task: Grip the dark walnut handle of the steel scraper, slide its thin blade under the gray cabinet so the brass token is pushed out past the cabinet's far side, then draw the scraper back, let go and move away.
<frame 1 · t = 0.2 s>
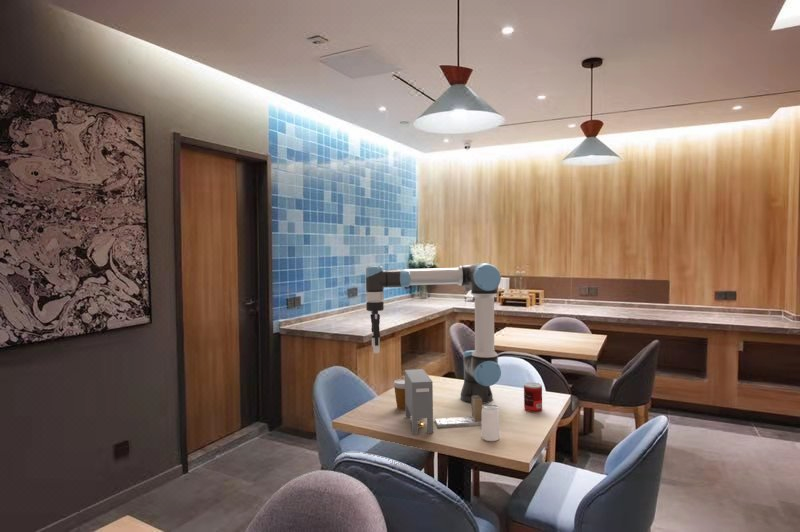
hand: (375, 350, 211), 28 cm above the table, tool pointing down, fingers open, 13 cm apart
can: (490, 439, 180), on the table
gray cabinet: (418, 424, 196), on the table
brass token: (419, 426, 195), on the table
canned food: (533, 409, 213), on the table
disposable coffee cup: (404, 408, 218), on the table
steel scraper: (477, 422, 198), on the table
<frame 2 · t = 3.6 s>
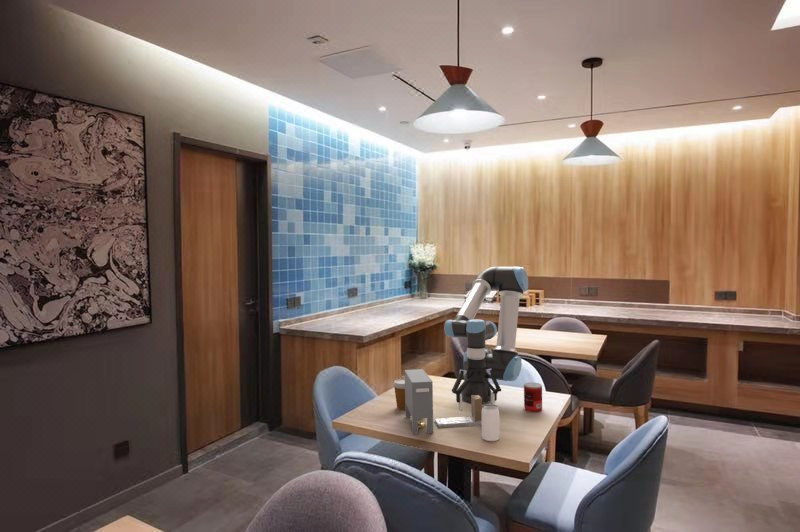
hand: (476, 409, 197), 5 cm above the table, tool pointing down, fingers open, 13 cm apart
nothing on the table moved.
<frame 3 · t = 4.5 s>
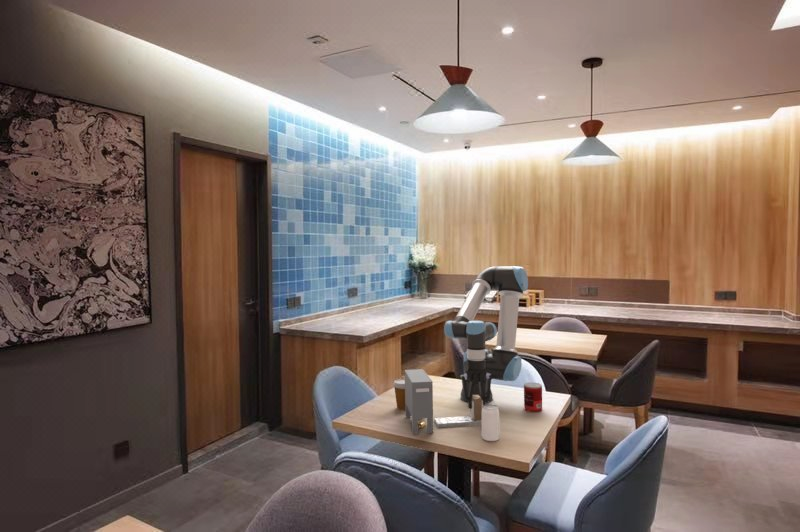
hand: (476, 415, 197), 3 cm above the table, tool pointing down, fingers closed on steel scraper, 3 cm apart
steel scraper: (476, 422, 198), on the table, touching gripper
everything else where it was.
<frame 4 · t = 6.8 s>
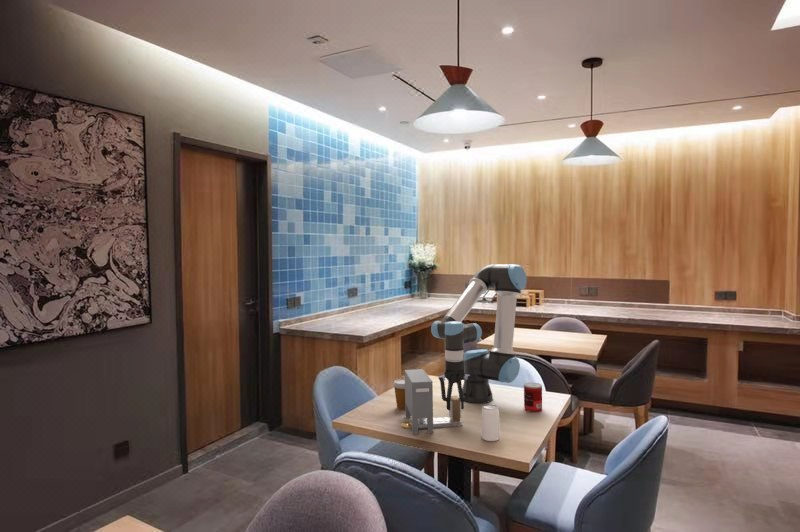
hand: (455, 417, 196), 3 cm above the table, tool pointing down, fingers closed on steel scraper, 3 cm apart
brass token: (407, 426, 194), on the table
steel scraper: (455, 423, 197), on the table, touching gripper
everything else where it was.
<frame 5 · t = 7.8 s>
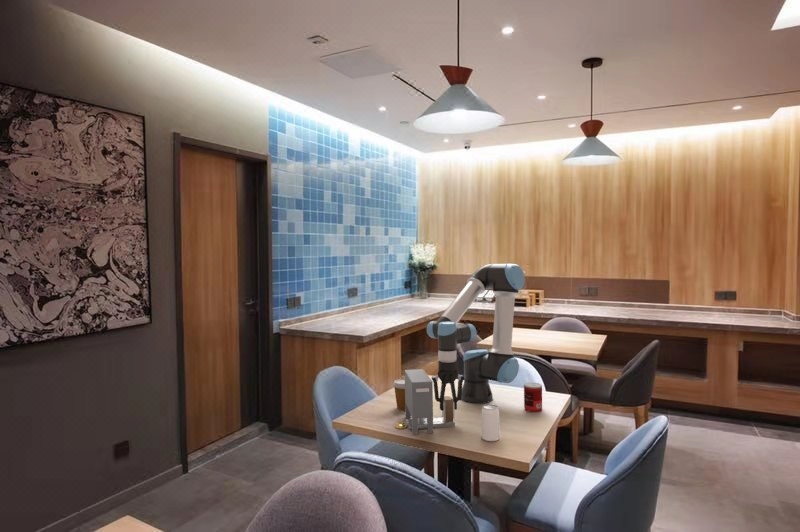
hand: (448, 417, 196), 3 cm above the table, tool pointing down, fingers closed on steel scraper, 3 cm apart
brass token: (401, 427, 194), on the table
steel scraper: (448, 423, 197), on the table, touching gripper
everything else where it was.
when the fingers open (2 cm above the table, at t = 9.0 s): steel scraper stays where it is, on the table.
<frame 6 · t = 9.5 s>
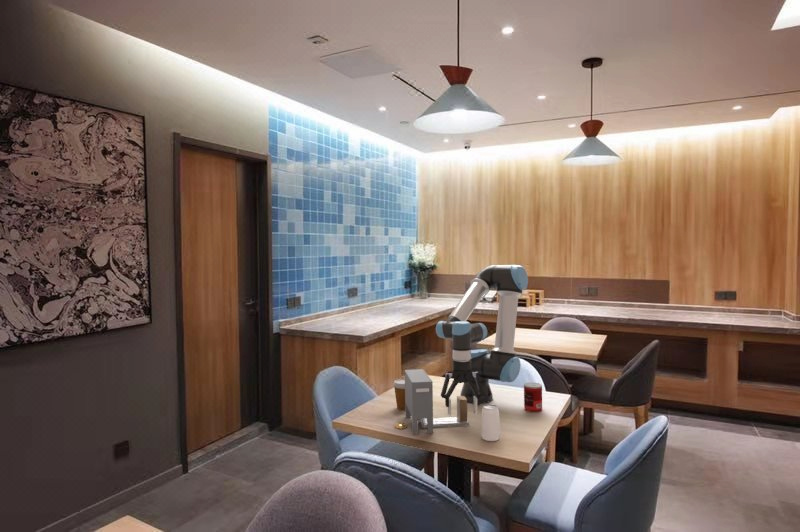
hand: (462, 413, 197), 4 cm above the table, tool pointing down, fingers open, 10 cm apart
steel scraper: (462, 423, 197), on the table
everything else where it was.
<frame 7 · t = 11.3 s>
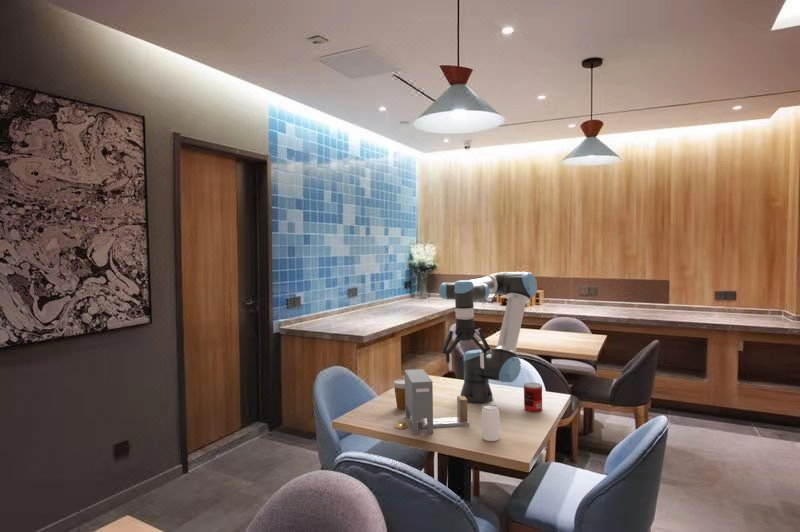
hand: (466, 368, 200), 21 cm above the table, tool pointing down, fingers open, 13 cm apart
nothing on the table moved.
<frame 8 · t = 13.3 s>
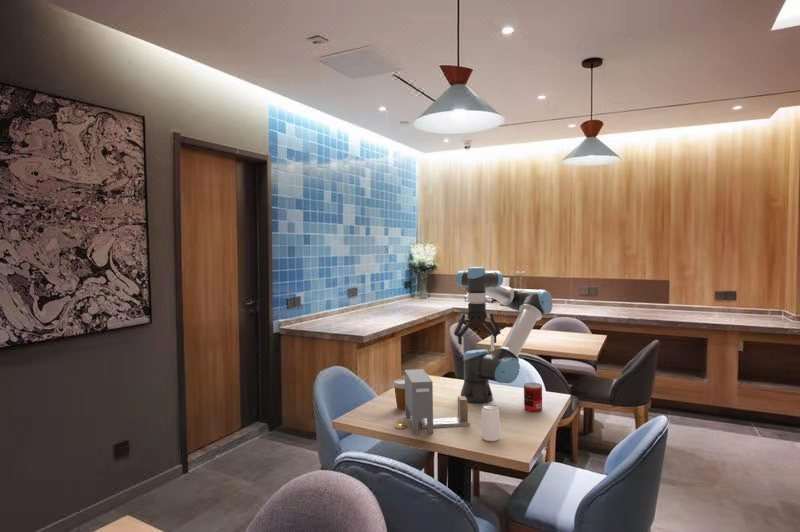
hand: (477, 351, 210), 27 cm above the table, tool pointing down, fingers open, 13 cm apart
nothing on the table moved.
at the end: brass token inside the target area (4.5 cm from its centre), on the table; the gripper is holding nothing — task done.
